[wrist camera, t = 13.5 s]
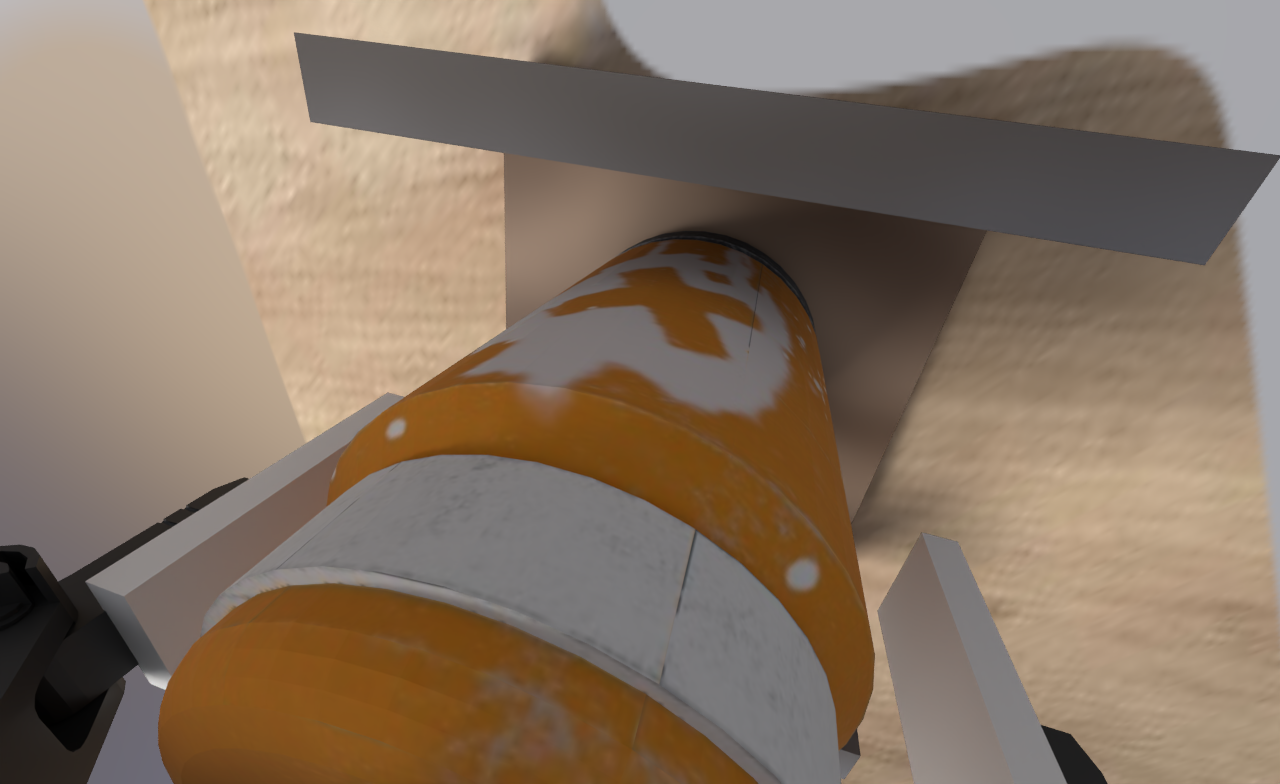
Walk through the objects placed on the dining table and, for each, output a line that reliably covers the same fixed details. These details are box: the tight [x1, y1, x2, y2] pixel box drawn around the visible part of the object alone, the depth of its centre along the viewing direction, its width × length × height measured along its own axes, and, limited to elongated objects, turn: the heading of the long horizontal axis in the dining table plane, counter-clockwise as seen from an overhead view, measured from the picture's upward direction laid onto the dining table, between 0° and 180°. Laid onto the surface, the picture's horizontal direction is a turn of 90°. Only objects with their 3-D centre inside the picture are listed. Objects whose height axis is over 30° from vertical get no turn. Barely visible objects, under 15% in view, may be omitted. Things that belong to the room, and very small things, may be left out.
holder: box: [294, 33, 1280, 779], centre depth 16 cm, size 19×16×10 cm
